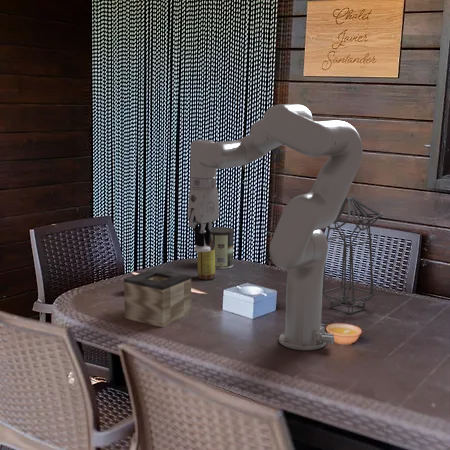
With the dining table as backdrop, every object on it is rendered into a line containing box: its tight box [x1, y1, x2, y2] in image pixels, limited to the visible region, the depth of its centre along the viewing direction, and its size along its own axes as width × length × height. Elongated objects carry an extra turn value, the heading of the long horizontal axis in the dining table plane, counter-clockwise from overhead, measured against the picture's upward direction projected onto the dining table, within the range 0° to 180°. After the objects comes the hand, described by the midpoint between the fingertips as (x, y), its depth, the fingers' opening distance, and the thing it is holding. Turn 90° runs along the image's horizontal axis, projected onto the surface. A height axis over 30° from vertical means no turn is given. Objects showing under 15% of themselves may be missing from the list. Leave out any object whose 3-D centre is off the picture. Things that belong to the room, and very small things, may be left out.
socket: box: [123, 268, 192, 328], centre depth 203 cm, size 14×14×12 cm
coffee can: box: [211, 226, 235, 270], centre depth 260 cm, size 10×10×14 cm
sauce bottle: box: [196, 225, 216, 281], centre depth 243 cm, size 6×6×20 cm
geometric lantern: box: [322, 196, 384, 315], centre depth 211 cm, size 16×16×35 cm
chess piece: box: [193, 223, 211, 252], centre depth 202 cm, size 5×5×10 cm
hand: (202, 244), depth 203 cm, fingers closed on chess piece
